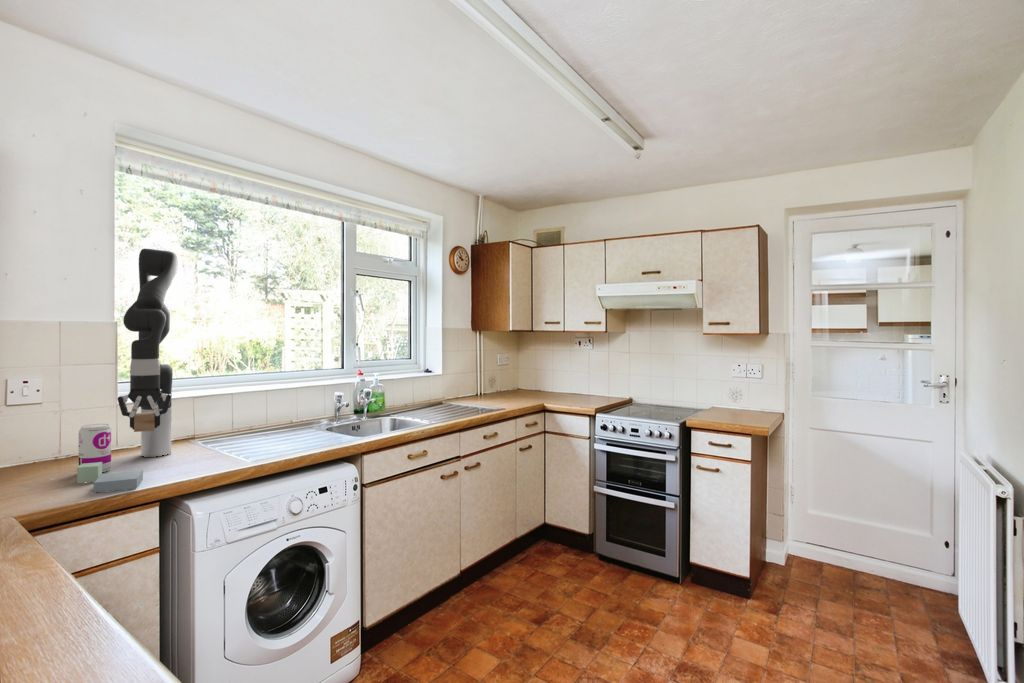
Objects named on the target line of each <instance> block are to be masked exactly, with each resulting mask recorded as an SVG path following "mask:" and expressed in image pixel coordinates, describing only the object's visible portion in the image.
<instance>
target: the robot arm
mask: <svg viewBox="0 0 1024 683" xmlns="http://www.w3.org/2000/svg"><path fill="white" fill-rule="evenodd" d="M177 271H178V256H177V254H176V253H175V252H173V251H169V250H160V249H153V248H142V249H141V250H140V252H139V256H138V278H139V292H138V294H137V298H136V300H135V301H134V303H132V304H131V305H130V306H129V307H128V308H127V310H126V312H125V314H124V316H123V324H124V327H125V328H126V329H127V330H128V331H130V332H138V339H135V340H133V341H132V342H131V347H130V349H131V350H130V352H131V353H130V355H131V356H130V358H131V360H130V367H129V368H130V369H129V376H130V377H129V381H130V382H129V388H130V390H129V392H128V394H127V395H120V396H118V397H117V403H118V405H119V409H120V413H121V415H122V416H124V417H128V418H129V428H130V429H132V430H133V431H134V415H135V414H136V413H138V410H139V408H140V413H150V412H154V413H155V428H156V429H155V430H154V431H140V456H141V457H142V456H144V457H143V458H157V457H156V456H158V457H163V456H162V455H164V456H168V455H170V454H171V453H172V392H173V391H172V389H173V388H172V387H173V375H174V374H173V367H172V366H171V365H170V364H166V363H165V364H160V344H161V343H162V342H163V341H164V340H165V338H167V335H169V332H170V328H171V327H170V325H171V313H170V310H169V308H168V306H167V305H166V303H165V298H166V295H167V292H168V290H169V288H170V287H171V284H172V283H173V281H174V279H175V277H176V275H177ZM152 277H155V278H153V279H152ZM128 399H129V400H130V401H131V402H132V403H133V406H132V409H131V411H128V407H127V402H128ZM167 454H168V455H167Z"/></svg>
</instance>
